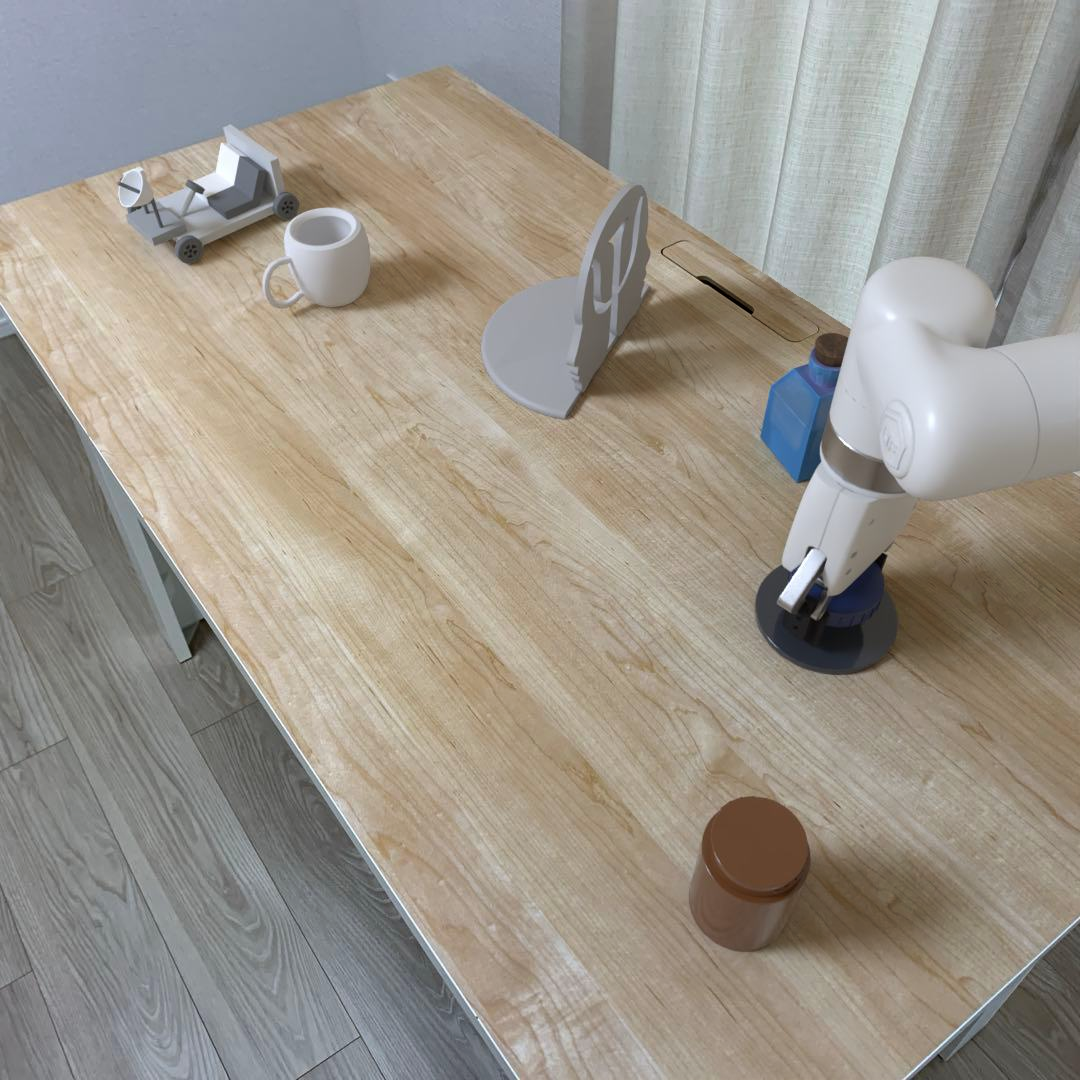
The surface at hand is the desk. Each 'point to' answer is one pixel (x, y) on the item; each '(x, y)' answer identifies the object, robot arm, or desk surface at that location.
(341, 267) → the mug
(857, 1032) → the desk surface
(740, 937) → the jar
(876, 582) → the lid
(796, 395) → the perfume bottle
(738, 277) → the desk surface
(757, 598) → the coaster
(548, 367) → the ornament
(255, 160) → the toy car
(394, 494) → the desk surface
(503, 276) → the desk surface
